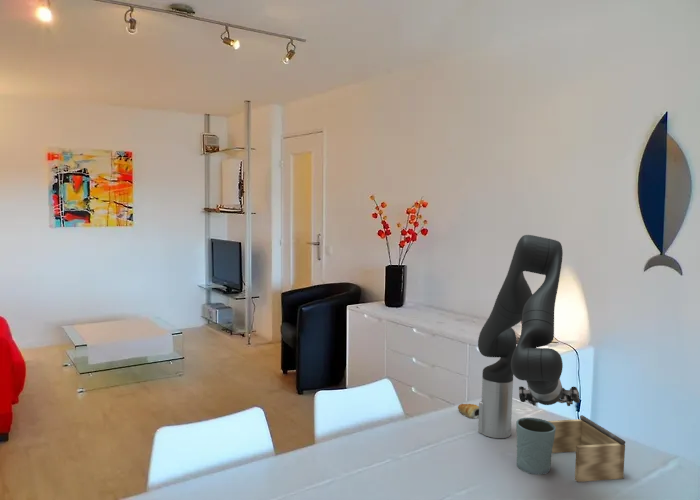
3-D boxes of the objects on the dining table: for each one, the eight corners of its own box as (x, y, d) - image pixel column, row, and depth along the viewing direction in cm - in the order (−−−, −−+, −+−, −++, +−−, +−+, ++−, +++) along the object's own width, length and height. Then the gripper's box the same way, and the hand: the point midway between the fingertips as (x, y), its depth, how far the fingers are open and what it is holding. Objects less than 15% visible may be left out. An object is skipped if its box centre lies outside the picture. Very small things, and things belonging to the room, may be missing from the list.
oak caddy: (577, 481, 145) (579, 443, 144) (540, 451, 163) (541, 417, 162) (623, 478, 147) (625, 440, 147) (581, 449, 165) (583, 415, 165)
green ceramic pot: (525, 456, 160) (527, 414, 159) (560, 468, 153) (562, 424, 152) (507, 467, 153) (509, 423, 152) (542, 480, 146) (544, 434, 145)
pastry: (452, 411, 196) (453, 400, 195) (467, 408, 199) (468, 397, 199) (471, 420, 187) (471, 409, 187) (486, 417, 191) (487, 406, 190)
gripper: (575, 369, 135) (579, 387, 148) (513, 370, 140) (522, 387, 153) (577, 401, 131) (581, 417, 144) (514, 400, 137) (523, 415, 150)
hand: (551, 401), depth 149 cm, fingers open, 8 cm apart
